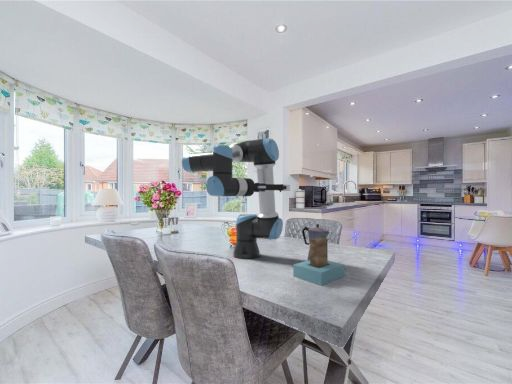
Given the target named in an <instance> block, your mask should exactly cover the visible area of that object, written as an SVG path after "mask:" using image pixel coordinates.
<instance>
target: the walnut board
mask: <svg viewBox="0 0 512 384" xmlns="http://www.w3.org/2000/svg"><path fill="white" fill-rule="evenodd" d="M328 242H329V241H328V237H327V238H321V237H319V238H313V239H310V244H309V249H310V266H313V267H316V268H321V267H324V266H327V265H328V261H329V260H328V259H329V258H328V256H329V255H328V254H329V253H328V252H329V251H328Z"/></svg>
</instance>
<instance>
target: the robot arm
mask: <svg viewBox="0 0 512 384" xmlns="http://www.w3.org/2000/svg"><path fill="white" fill-rule="evenodd" d="M279 150H280V149H279V147H278V144H277V141H275V140H274V139H273V138H259V139H253V140H251V139H250V140H245V141H241V142H237V143H233V144H231V145H224V144H219V145H218V144H217V145H214V146H213V147H212V150H207V151H201V152H197V153H188V154H185V155H184V156H182V159H181V166H182V169H183V170H184V171H185V172H187V173H199V172H200V173H201V172H212V176H211V175H210V176H209V177H208V178H207V179H206V184H205V188H206V192H207V194H208V195H210V196H212V197H235V198H239V197H252V195H254V193H258V203H259V204H258V205H259V212H258V213H257V214H248V215H247V214H246V215H241V216H240V215H239V216H237V217H236V224H235V225H236V226H235V227H236V228H235V229H236V233H235V234H236V237H235V238H236V240H235V241H236V242H235V245H234V249H233V253H232V255H233V257H234V258H237V259H242V260H243V259H256V258H258V257H260V256H261V254H260V253H261V252H260V249H259V246H258V242H257V239H265V240H277V239H279V238H280V237H281V235H282V231H283V227H284V222H283V219H282V218H281V217H279V213H278V212H277V211H276V198H275V197H276V196H275V191H279V193H282V191H283V192H290V191H291V184H283V183H279V184H278V183H277V184H276V183H275V181H274V180H275V179H274V167H275V165H276V162H277V161H278V160H279V157H280V151H279ZM233 163H234V164H237V163H253V167H255V168H256V175H257V182H255V181H254V180H253V179H252V178H250V177H249V178H248V177H247V178H246V177H244V178H243V177H233Z"/></svg>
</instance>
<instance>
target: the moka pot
mask: <svg viewBox="0 0 512 384" xmlns="http://www.w3.org/2000/svg"><path fill="white" fill-rule="evenodd" d="M305 231H306V232H308V242H307V237H306V233H305ZM301 233H302V236H303V241H304V244H305V245H307V246H310V239H313V238H319V237H321V238H327V239H328V236H329V234H330V231H329V230H327V229H325V228H323V227H320V224H319V223H317V224H315V227H308V226H304V227H303V228H302V230H301ZM308 250H309V251H308V254H307V255H308V256H307V260H306V261H308V260H310V248H309V249H308Z"/></svg>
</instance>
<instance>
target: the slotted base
mask: <svg viewBox="0 0 512 384" xmlns="http://www.w3.org/2000/svg"><path fill="white" fill-rule="evenodd" d="M292 267H293V270H292V271H293V277H294V278H297V279H300V280H303V281H307V282H310V283H312V284H316V285H317V286H318V285H319V286H324V285H326V284H328V283H332V282H333V281H336V280H339V279H341V278H342V277H345V264H344V263H340V262H335V261H330V260H328V265H327V266H324V267H321V268H316V267H313V266H310V260H308V261H307V260H305V261H301V262H298V263H294V264H293V266H292Z"/></svg>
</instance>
